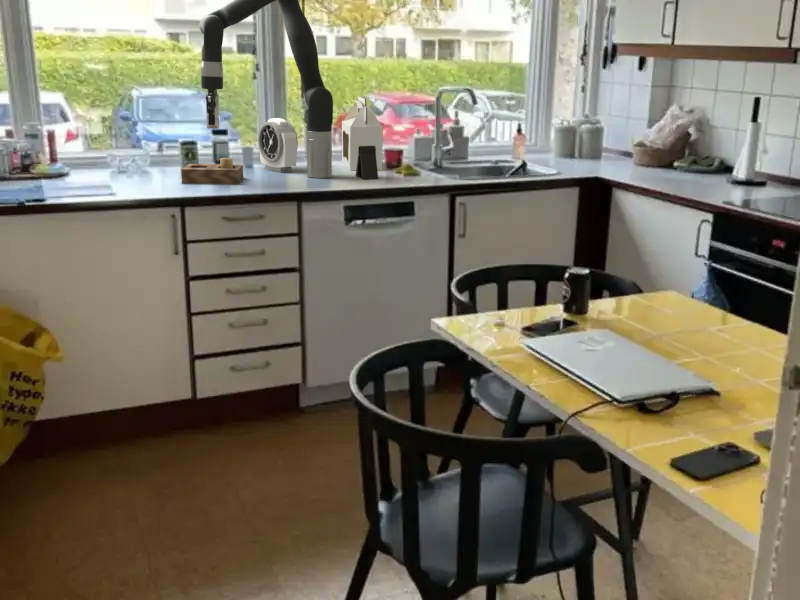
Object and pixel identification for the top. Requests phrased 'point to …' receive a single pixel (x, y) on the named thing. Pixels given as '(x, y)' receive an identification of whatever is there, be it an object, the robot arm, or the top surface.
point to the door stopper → (367, 163)
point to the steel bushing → (215, 119)
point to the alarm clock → (278, 145)
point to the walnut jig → (213, 173)
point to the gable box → (360, 134)
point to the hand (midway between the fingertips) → (212, 124)
